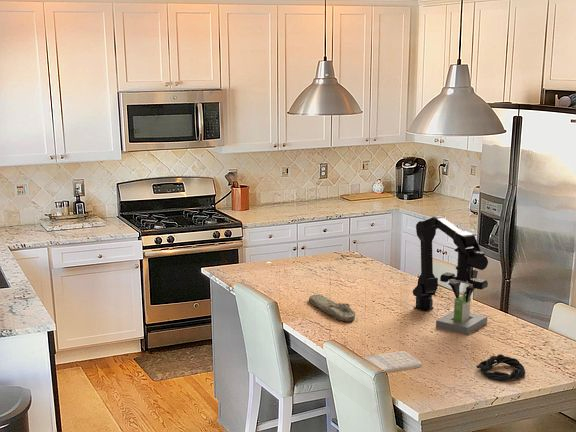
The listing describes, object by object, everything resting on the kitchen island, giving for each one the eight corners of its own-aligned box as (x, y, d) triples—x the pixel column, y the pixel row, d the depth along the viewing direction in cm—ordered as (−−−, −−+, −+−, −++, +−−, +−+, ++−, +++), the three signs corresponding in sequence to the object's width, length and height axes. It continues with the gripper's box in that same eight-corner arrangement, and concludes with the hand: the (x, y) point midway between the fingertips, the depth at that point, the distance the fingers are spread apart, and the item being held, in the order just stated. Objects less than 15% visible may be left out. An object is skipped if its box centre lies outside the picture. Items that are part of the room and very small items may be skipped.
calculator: (423, 367, 263) (423, 362, 263) (373, 376, 256) (373, 370, 256) (404, 354, 275) (404, 349, 275) (355, 362, 268) (356, 357, 268)
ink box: (461, 317, 309) (462, 287, 306) (469, 320, 306) (471, 288, 304) (453, 322, 304) (454, 290, 301) (461, 324, 301) (463, 292, 299)
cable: (506, 362, 268) (507, 350, 267) (537, 375, 256) (537, 363, 255) (471, 371, 260) (472, 359, 259) (501, 385, 248) (501, 373, 247)
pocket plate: (435, 327, 303) (436, 320, 303) (456, 316, 317) (456, 309, 316) (467, 335, 294) (467, 327, 294) (486, 323, 308) (487, 316, 307)
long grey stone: (322, 301, 342) (303, 305, 338) (321, 290, 341) (302, 294, 337) (362, 320, 310) (341, 324, 306) (361, 308, 310) (340, 312, 305)
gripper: (494, 264, 301) (492, 300, 304) (453, 256, 312) (451, 292, 315) (482, 269, 292) (480, 307, 295) (440, 261, 304) (438, 298, 307)
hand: (462, 300), depth 304 cm, fingers closed on ink box, 4 cm apart
